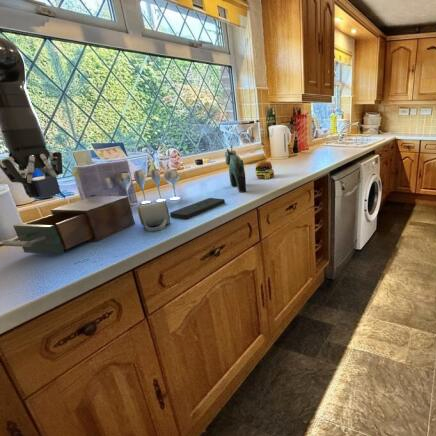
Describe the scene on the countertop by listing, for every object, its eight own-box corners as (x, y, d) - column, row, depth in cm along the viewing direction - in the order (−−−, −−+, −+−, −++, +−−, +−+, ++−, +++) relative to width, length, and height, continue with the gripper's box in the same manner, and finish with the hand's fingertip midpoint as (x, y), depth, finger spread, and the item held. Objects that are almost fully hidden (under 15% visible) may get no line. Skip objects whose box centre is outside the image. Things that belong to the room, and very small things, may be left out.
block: (29, 197, 78) (22, 180, 76) (47, 192, 82) (41, 176, 81) (43, 197, 77) (37, 180, 76) (61, 193, 82) (55, 176, 80)
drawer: (40, 263, 74) (28, 234, 71) (3, 261, 76) (-10, 232, 73) (104, 234, 91) (96, 209, 88) (72, 233, 93) (64, 209, 90)
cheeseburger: (258, 180, 158) (255, 161, 157) (254, 181, 168) (251, 163, 167) (277, 177, 162) (273, 158, 161) (272, 178, 172) (269, 161, 171)
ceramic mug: (143, 223, 101) (138, 201, 98) (170, 219, 105) (165, 197, 102) (141, 234, 92) (135, 211, 90) (171, 229, 96) (165, 206, 93)
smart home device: (225, 198, 120) (186, 214, 103) (226, 203, 121) (186, 219, 104) (209, 197, 124) (168, 212, 106) (210, 201, 124) (169, 217, 107)
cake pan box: (133, 199, 131) (123, 158, 124) (140, 200, 129) (130, 159, 122) (83, 213, 115) (69, 166, 108) (91, 214, 112) (76, 167, 106)
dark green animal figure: (228, 184, 151) (222, 144, 144) (241, 183, 154) (235, 143, 147) (236, 193, 134) (230, 147, 128) (251, 191, 137) (245, 146, 130)
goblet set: (105, 209, 118) (95, 175, 113) (107, 205, 122) (98, 173, 118) (183, 199, 129) (177, 168, 124) (182, 195, 134) (177, 166, 129)
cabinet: (97, 241, 88) (87, 210, 85) (61, 240, 90) (50, 209, 87) (135, 223, 102) (127, 196, 98) (103, 222, 104) (94, 195, 100)
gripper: (38, 125, 81) (59, 187, 87) (-29, 129, 68) (2, 202, 74) (61, 125, 80) (81, 187, 86) (-2, 128, 67) (27, 202, 72)
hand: (44, 194), depth 80 cm, fingers closed on block, 4 cm apart
